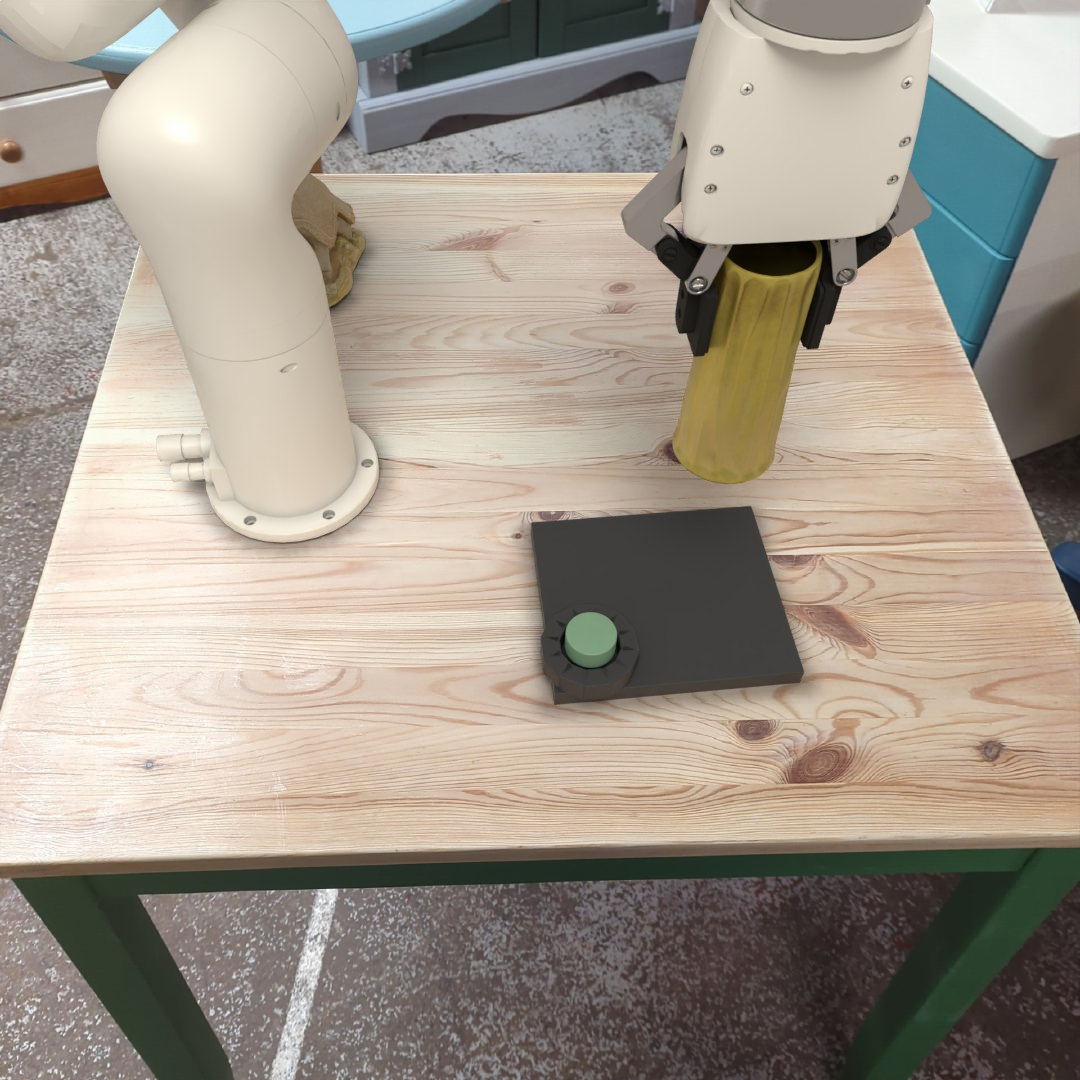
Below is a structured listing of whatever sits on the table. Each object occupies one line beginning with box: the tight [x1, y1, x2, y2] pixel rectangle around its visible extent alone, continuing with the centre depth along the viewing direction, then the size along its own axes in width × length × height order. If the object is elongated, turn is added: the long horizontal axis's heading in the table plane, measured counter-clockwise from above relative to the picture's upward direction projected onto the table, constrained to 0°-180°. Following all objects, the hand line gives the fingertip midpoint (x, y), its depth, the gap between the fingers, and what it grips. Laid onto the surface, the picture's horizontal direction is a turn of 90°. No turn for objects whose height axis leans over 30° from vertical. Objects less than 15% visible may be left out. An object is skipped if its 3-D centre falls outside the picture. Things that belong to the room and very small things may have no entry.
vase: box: [671, 240, 823, 485], centre depth 55 cm, size 6×6×14 cm
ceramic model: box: [291, 172, 366, 308], centre depth 87 cm, size 14×11×10 cm
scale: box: [530, 505, 805, 706], centre depth 67 cm, size 17×15×3 cm
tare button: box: [565, 612, 617, 668], centre depth 62 cm, size 3×3×2 cm
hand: (749, 333), depth 53 cm, fingers closed on vase, 5 cm apart
